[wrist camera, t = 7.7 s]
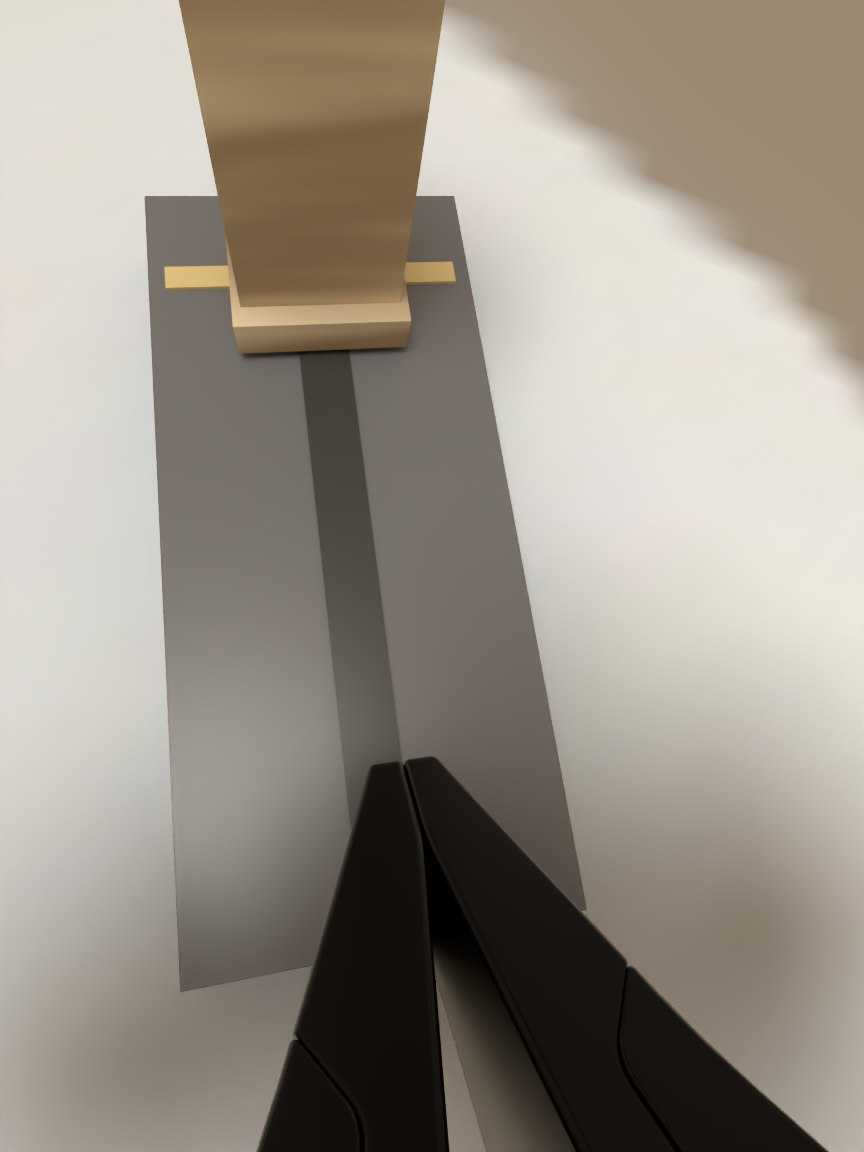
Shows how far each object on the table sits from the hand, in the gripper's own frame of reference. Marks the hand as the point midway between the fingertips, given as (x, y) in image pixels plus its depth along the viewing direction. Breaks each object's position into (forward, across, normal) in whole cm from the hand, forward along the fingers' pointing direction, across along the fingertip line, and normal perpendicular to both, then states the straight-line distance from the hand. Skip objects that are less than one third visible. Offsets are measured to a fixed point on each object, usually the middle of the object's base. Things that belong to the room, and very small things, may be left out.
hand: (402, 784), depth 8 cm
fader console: (+10, 0, +1) cm, 10 cm away
